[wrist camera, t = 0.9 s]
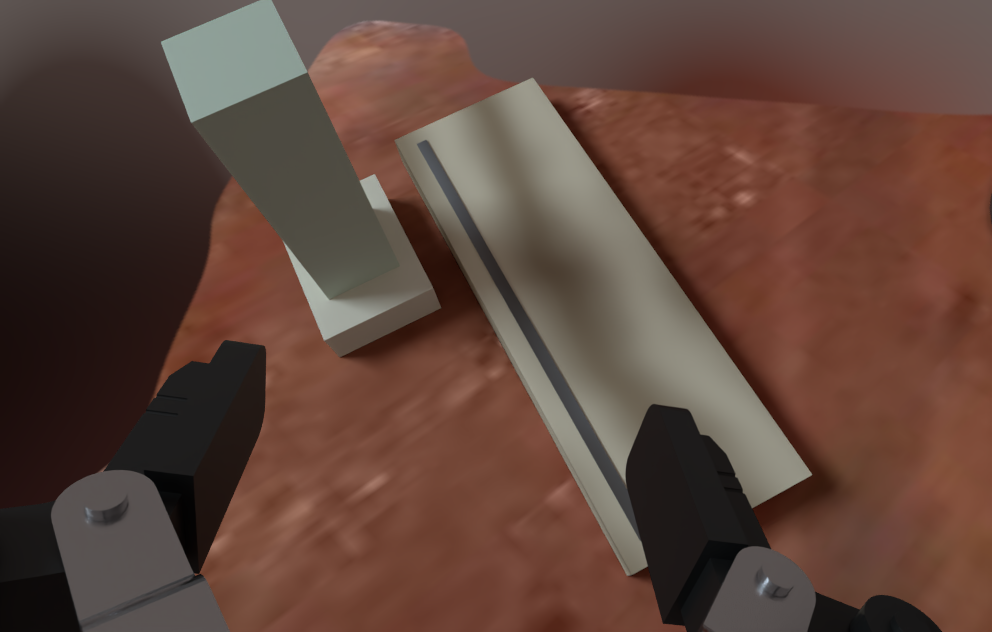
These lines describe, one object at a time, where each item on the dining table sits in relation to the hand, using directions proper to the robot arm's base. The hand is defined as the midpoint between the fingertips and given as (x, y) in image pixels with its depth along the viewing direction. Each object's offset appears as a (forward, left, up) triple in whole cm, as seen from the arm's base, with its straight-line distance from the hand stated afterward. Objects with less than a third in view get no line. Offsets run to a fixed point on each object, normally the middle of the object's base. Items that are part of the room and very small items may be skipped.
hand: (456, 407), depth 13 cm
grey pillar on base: (-3, -15, -19) cm, 24 cm away
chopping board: (-10, -5, -18) cm, 22 cm away
